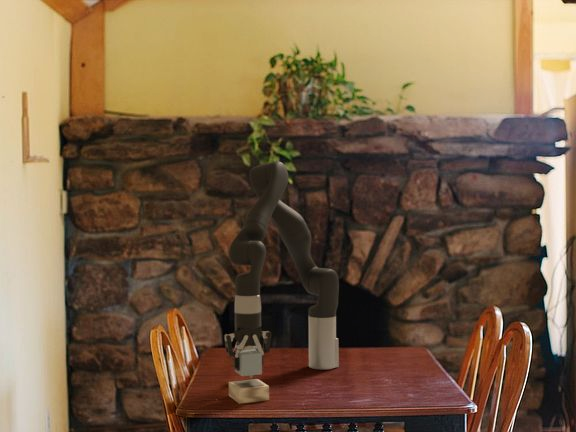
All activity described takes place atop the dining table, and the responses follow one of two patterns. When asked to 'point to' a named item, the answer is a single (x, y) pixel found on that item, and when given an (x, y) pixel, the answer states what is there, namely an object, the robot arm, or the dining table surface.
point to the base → (248, 391)
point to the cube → (250, 363)
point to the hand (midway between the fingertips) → (248, 368)
